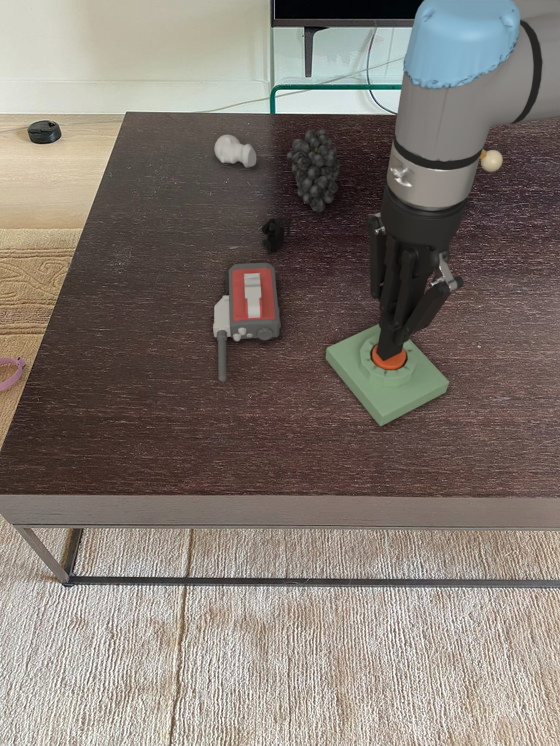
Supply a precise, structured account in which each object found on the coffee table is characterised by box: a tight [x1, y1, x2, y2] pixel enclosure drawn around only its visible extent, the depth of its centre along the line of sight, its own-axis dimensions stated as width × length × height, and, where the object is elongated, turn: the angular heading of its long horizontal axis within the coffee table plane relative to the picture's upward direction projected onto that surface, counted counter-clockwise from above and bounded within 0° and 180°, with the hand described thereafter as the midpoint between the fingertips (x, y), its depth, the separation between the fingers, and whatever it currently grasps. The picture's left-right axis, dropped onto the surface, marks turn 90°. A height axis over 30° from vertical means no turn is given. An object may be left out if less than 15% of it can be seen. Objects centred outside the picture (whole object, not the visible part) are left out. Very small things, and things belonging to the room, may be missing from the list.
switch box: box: [325, 323, 450, 427], centre depth 77 cm, size 12×10×4 cm
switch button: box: [371, 344, 406, 370], centre depth 76 cm, size 4×4×2 cm
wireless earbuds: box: [261, 216, 292, 257], centre depth 91 cm, size 7×2×5 cm, turn 145°
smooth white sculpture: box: [213, 134, 257, 169], centre depth 105 cm, size 4×8×5 cm
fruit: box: [286, 128, 341, 213], centre depth 98 cm, size 9×8×15 cm
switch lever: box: [479, 148, 504, 173], centre depth 94 cm, size 13×3×3 cm, turn 75°
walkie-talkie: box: [212, 262, 282, 383], centre depth 81 cm, size 9×4×20 cm
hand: (388, 352), depth 75 cm, fingers closed
